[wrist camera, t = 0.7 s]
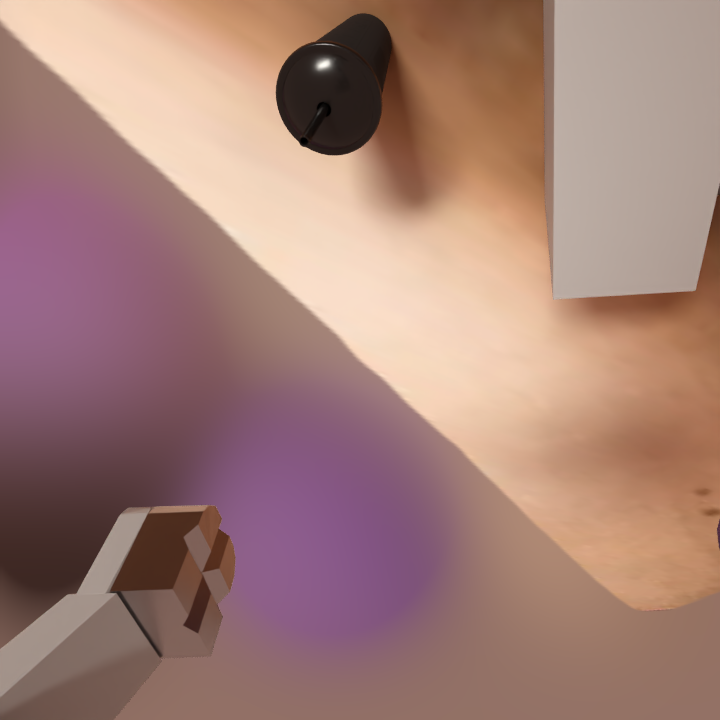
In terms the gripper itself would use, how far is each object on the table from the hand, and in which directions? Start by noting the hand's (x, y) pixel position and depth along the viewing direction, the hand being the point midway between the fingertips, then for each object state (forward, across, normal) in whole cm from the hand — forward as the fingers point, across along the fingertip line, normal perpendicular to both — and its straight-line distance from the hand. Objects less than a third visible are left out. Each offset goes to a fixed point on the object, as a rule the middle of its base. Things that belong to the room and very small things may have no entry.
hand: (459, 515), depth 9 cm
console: (+46, -16, 0) cm, 49 cm away
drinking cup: (+49, +4, -4) cm, 49 cm away
